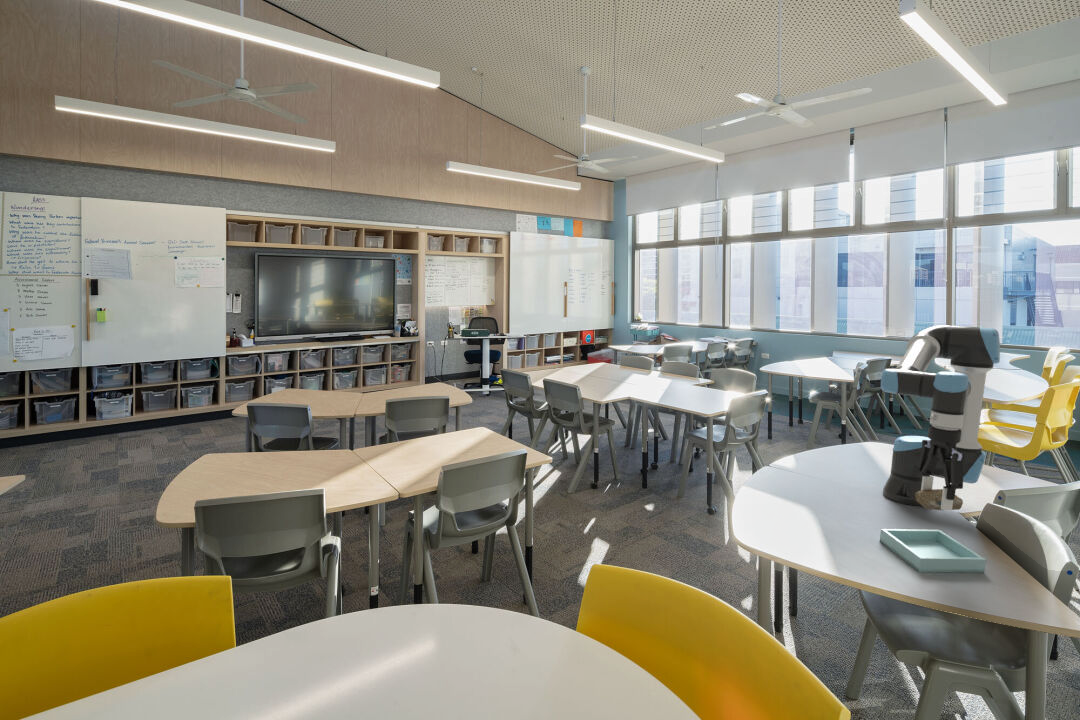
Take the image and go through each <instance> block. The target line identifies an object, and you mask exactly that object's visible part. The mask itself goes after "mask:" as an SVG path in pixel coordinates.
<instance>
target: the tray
mask: <svg viewBox="0 0 1080 720" xmlns="http://www.w3.org/2000/svg"><path fill="white" fill-rule="evenodd" d="M879 542H880V543H881V544H883V546H885V547H887V548H888V549H889V550H890V551H892V552H893V553H894V554H895V555H896V556H898V557H900V559H901V560H903V561H905V562H906V563H907V564H908V565H909V566H911V567H912V568H913V569H915V570H916V571H917V572H919V573H961V574H962V573H966V574H975V573H977V574H984V573H985V570H986V569H985V568H986V561H987V559H986V558H985V557H983V556H981V555H979V554H978V553H976V551H974V550H972V549H970V548H969V547H967V546H966V545H964V544H963V543H961V542H959V541H958V540H956V539H955V538H954V537H951V536H950V535H948V534H947V533H945V532H944V531H942V530H940V529H911V528H909V529H905V528H903V529H902V528H881V529H880V537H879Z"/></svg>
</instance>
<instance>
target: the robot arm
mask: <svg viewBox="0 0 1080 720" xmlns="http://www.w3.org/2000/svg"><path fill="white" fill-rule="evenodd" d="M1000 341H1001V340H1000V334H999V331H998V329H995V328H993V327H992V328H991V327H986V326H985V327H984V326H966V325H965V326H963V325H946V324H944V325H943V324H941V325H940V324H939V325H935V326H931V327H927V328H925V329H922V330H920V331H919V332H917V333H915V334H913V336H912V337H910V339H909V340H908V342H907V345H906V352H905V353H904V355H903V357H902V358H901V360H900V361H899V363H898V364H897V366H896V368H885V369H884V370H883V372H882V374H881V377H880V378H881V379H880V388H881V390H882V392H885V393H889V394H894V395H902V396H911V397H919V398H927V399H932V401H931V408H930V417H929V424H930V425H929V426H928V429H927V430H928V432H927V436H922V435H921V436H920V435H904V436H898V437H897V438H895V440H894V443H893V447H892V458H891V466H890V467H891V468H890V475H889V477H888V478H887V480H886V482H885V485H884V486H883V488H882V495H883V496H884V497H886V498H888V499H889V500H892V501H894V502H897V503H901V504H903V505H910V506H919V507H922V505H921V504H920V503H919V502H917V501H916V497H915V493H917V492H918V491H921V490H926V489H933V486H934V485H933V484H934V477H936V478H940V479H941V478H942V479H944V483H945V486H942V489H943V493H942V500H941V508H940V509H942V510H941V511H953V510H952V506H953V500H954V498H955V495H956V491H957V489H958V490H962V489H963V488H964V483H966V484H972V485H973V484H976V483H977V482H978V481H979V479H980V476H981V474H982V469H983V467H984V465H985V460H986V457H987V452H985V451H982V449H983V446H982V444H981V443H980V442H979V441H978V436H979V430H980V421H981V416H982V415H981V414H982V407H983V402H984V401H983V399H984V393H985V387H986V386H985V384H986V378H987V373H988V372H989V371H991V370H993V368H994V364H1000V362H1001V361H1000V359H1001V343H1000ZM934 359H943V360H944V359H947V360H950V366H951V367H952V369H954V371H939V372H937V373H935V372H932V373H931V372H926V371H927V369H928V367H929V365H930V364H931V362H932V360H934Z"/></svg>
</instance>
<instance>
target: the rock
mask: <svg viewBox="0 0 1080 720" xmlns="http://www.w3.org/2000/svg"><path fill="white" fill-rule="evenodd" d="M942 493H943V488H937V489H935V488H932V489H926V490H921V491H918V492H917V493H915V497H916V501H917V502H919V503H920V504H921V505H922V506H923V508H925V509H928V510H935V511H943V510H942V509H940V508H941V500H942ZM963 501H964V500H963V499H962V498H961V497H960V496H959V497H958V495H957V494H955V498H954V500H953V506H952V510H951V511H954V510H961V509H962V506H963V504H964V502H963ZM922 506H921V507H922Z"/></svg>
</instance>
